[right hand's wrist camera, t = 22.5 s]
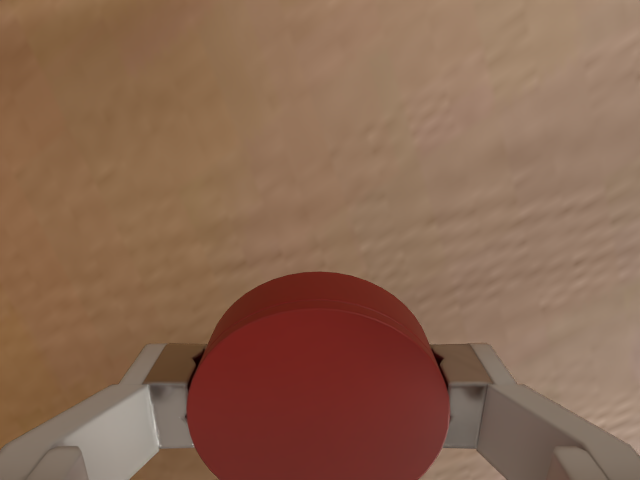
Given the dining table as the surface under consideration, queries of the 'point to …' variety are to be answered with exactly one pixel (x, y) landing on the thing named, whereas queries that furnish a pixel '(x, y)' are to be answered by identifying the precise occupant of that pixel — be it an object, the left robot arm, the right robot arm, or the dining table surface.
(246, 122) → the dining table surface
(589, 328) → the dining table surface
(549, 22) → the dining table surface
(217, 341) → the lid
